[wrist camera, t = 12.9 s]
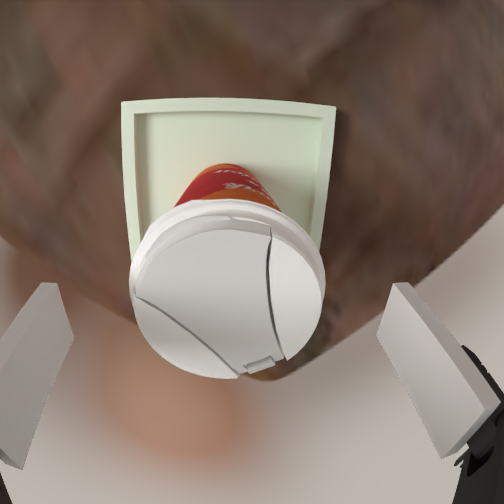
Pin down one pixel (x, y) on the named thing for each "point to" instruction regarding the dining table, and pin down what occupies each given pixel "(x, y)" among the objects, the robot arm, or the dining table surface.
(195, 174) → the tray
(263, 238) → the coffee cup
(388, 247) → the dining table surface
